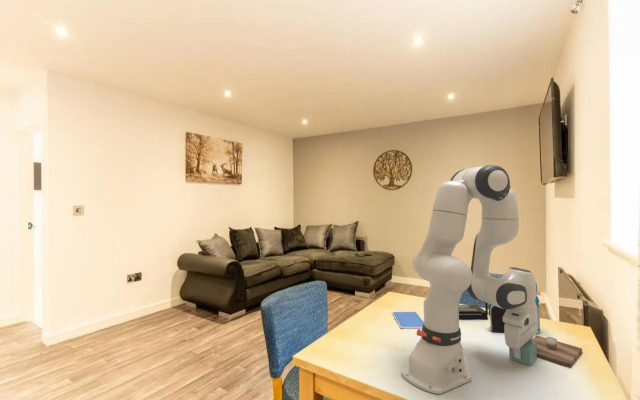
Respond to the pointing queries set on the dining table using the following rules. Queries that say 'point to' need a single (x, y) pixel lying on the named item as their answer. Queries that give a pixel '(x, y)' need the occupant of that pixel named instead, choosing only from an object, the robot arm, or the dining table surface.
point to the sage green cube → (526, 353)
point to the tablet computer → (408, 320)
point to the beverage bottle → (538, 311)
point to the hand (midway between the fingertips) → (523, 352)
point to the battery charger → (496, 318)
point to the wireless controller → (473, 312)
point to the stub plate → (556, 351)
